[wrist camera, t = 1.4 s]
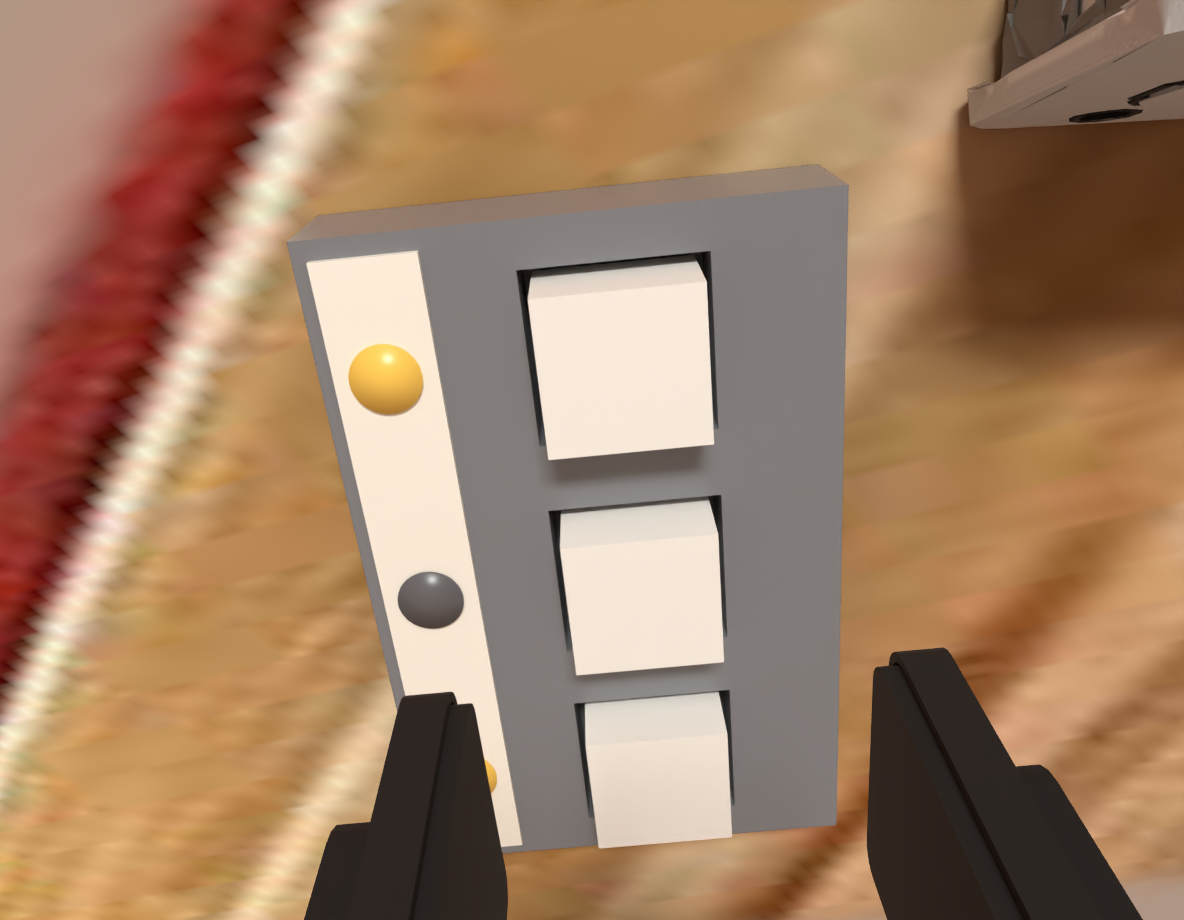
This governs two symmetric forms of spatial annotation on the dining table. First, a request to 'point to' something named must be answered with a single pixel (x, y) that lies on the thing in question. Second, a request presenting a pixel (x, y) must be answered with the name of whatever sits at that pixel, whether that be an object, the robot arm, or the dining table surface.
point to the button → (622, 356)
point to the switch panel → (592, 471)
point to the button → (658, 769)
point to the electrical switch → (1085, 64)
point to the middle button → (642, 585)
